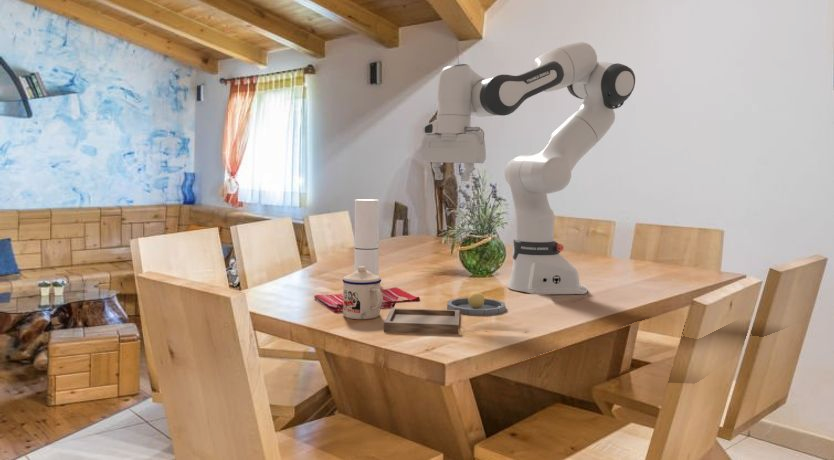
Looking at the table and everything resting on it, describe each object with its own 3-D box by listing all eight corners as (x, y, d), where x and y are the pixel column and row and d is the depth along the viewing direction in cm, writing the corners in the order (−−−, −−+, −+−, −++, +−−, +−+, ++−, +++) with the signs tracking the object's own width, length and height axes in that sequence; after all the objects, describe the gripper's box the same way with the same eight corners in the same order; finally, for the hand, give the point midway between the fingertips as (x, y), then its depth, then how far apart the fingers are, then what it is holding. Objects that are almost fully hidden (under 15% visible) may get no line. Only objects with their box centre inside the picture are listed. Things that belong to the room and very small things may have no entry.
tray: (459, 318, 153) (459, 310, 153) (458, 334, 139) (458, 324, 139) (391, 316, 154) (391, 308, 154) (383, 331, 140) (384, 322, 140)
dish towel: (422, 307, 167) (422, 297, 167) (333, 315, 157) (333, 304, 157) (395, 294, 182) (395, 285, 182) (313, 301, 172) (313, 291, 172)
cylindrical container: (380, 282, 198) (380, 199, 195) (376, 286, 191) (376, 200, 188) (356, 281, 199) (357, 199, 196) (352, 285, 191) (352, 200, 189)
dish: (503, 306, 166) (503, 298, 166) (506, 320, 152) (506, 310, 152) (448, 305, 167) (448, 296, 167) (446, 318, 153) (446, 308, 153)
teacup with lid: (334, 314, 155) (334, 266, 154) (365, 309, 161) (365, 262, 160) (365, 324, 146) (365, 273, 145) (396, 318, 152) (397, 269, 151)
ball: (484, 306, 161) (484, 290, 161) (484, 310, 157) (484, 294, 157) (467, 306, 162) (468, 290, 161) (467, 309, 158) (468, 293, 157)
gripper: (492, 127, 166) (490, 181, 167) (434, 128, 181) (432, 179, 182) (475, 125, 162) (473, 181, 163) (417, 127, 176) (416, 179, 178)
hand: (451, 180), depth 173 cm, fingers open, 8 cm apart
